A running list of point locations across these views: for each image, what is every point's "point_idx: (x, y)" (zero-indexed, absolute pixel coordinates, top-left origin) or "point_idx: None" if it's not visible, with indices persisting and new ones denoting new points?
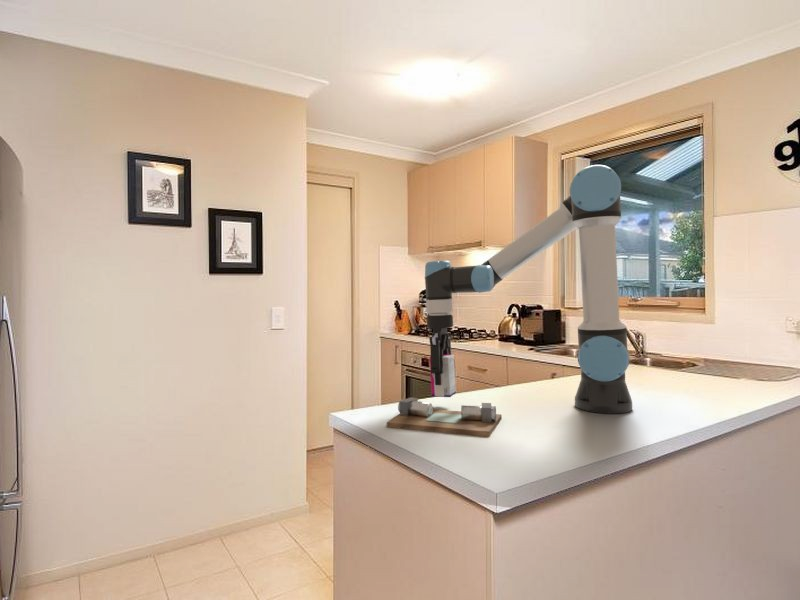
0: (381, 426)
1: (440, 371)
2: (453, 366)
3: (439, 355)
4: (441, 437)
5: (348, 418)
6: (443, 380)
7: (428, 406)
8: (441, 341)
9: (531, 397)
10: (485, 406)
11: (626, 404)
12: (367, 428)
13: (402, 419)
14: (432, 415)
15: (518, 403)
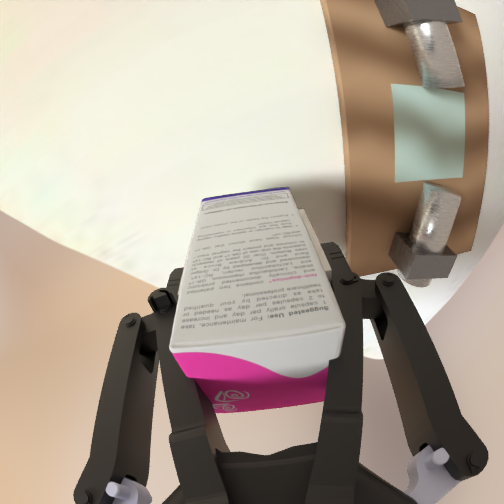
0: (461, 255)
1: (360, 281)
2: (208, 276)
3: (422, 355)
4: (500, 115)
5: None
6: (315, 246)
7: (453, 194)
8: (366, 479)
9: (3, 52)
10: (446, 9)
11: None
12: (470, 269)
13: (455, 233)
14: (424, 177)
15: (74, 24)
